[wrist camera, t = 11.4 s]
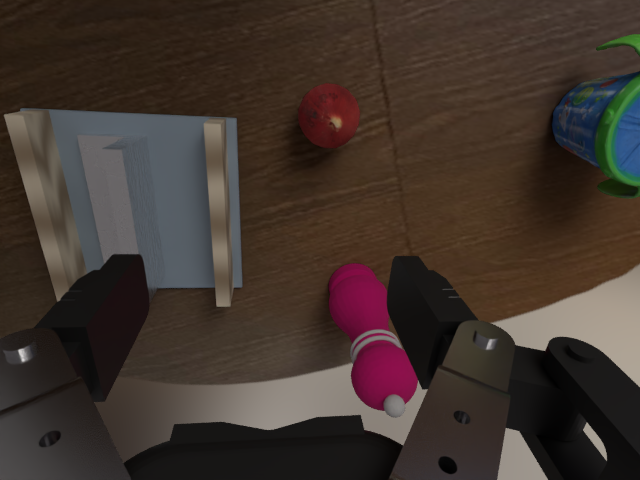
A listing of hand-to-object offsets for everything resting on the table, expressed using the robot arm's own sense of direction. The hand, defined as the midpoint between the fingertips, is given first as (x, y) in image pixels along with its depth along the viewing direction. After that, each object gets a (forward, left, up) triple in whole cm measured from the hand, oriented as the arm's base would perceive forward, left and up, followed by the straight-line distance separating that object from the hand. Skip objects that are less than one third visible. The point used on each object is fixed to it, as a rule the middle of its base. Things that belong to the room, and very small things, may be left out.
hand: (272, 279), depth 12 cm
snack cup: (-3, +34, -30) cm, 46 cm away
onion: (-2, +5, -30) cm, 31 cm away
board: (+9, -14, -30) cm, 34 cm away
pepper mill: (+19, +10, -30) cm, 37 cm away
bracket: (+9, -16, -29) cm, 35 cm away
